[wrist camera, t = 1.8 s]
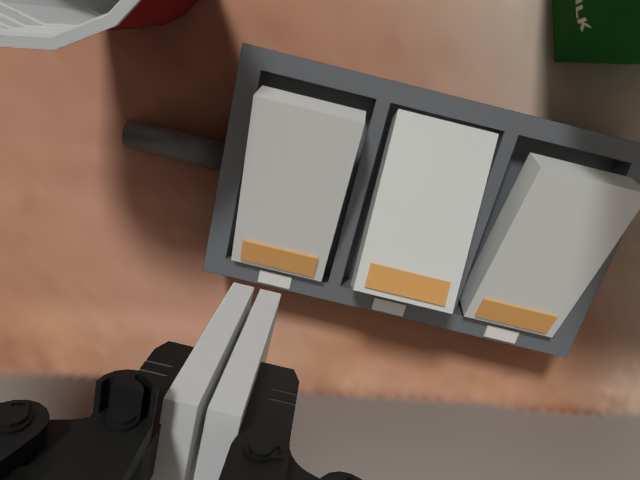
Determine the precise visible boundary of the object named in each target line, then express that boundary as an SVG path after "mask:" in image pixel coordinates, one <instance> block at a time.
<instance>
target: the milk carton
mask: <svg viewBox="0 0 640 480" xmlns="http://www.w3.org/2000/svg"><path fill="white" fill-rule="evenodd" d="M553 25H554V56H555V62H579V63H604V64H640V0H553Z"/></svg>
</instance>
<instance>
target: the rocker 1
mask: <svg viewBox="0 0 640 480" xmlns="http://www.w3.org/2000/svg"><path fill="white" fill-rule="evenodd" d="M365 118H366V111H363V110H359V109H355V108H351V107H347V106H343V105H339V104H335V103H331V102H327V101H323V100H319V99H315V98H311V97H307V96H303V95H299V94H295V93H291V92H287V91H283V90H279V89H275V88H271V87H267V86H263V85H262V86H261V87H260V89H259V90H258V91H257V92H256V93H255V94H254V95H253V102H252V110H251V117H250V125H249V132H248V139H247V147H246V154H245V161H244V169H243V176H242V184H241V191H240V198H239V206H238V213H237V220H236V228H235V235H234V242H233V250H232V257H231V260H233V261H237V262H242V263H246V264H250V265H254V266H258V267H262V268H266V269H270V270H275V271H279V272H283V273H287V274H291V275H295V276H299V277H303V278H308V279H312V280H316V281H320V282H321V281H322V277H323V274H324V270H325V266H326V263H327V259H328V256H329V252H330V248H331V245H332V241H333V237H334V234H335V230H336V227H337V223H338V219H339V216H340V212H341V208H342V205H343V201H344V198H345V194H346V190H347V187H348V183H349V179H350V176H351V172H352V169H353V165H354V161H355V158H356V154H357V150H358V147H359V143H360V140H361V136H362V132H363V129H364V125H365Z"/></svg>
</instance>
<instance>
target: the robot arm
mask: <svg viewBox="0 0 640 480" xmlns="http://www.w3.org/2000/svg"><path fill="white" fill-rule="evenodd" d="M254 288H255V287H251V286H247V285H243V284H239V283H235V282H233V284H232V286H231V287H230V289H229V291H228V292H227V294H226V296H225V297H224V299H223V301H222V302H221V304H220V306H219V307H218V309H217V311H216V312H215V314H214V316H213V317H212V319H211V320H210V322H209V324H208V325H207V327H206V329H205V330H204V332H203V334H202V335H201V337H200V339H199V340H198V342H197V344H196V345H195V347H191V346H187V345H183V344H178V343H174V342H170V341H168V342H166V343H165V344H163V345H161V346H159V347H157V348H155V349H154V351H153V352H152V353H151V355H150V356H149V357H148V359H147V361H145V362H144V364H143V365H142V366H141V368H140V370H138V371H137V370H128V369H127V370H119V371H114V372H111V373H108V374H106V375H104V376H102V377H101V378H100V379H99V380H97V381H96V389H95V399H94V408H93V413H92V415H91V416H90V417H87V418H83V419H73V420H49V413H48V410H47V408H45V407H44V406H43V405H41V404H40V403H38V402H34V401H30V400H12V401H8V402H3V403H0V480H150V479H151V480H189V478H190V476H191V473H192V471H193V469H194V466H195V464H196V461H197V464H196V470H195V475H194V480H362V479H360V478H358V477H356V476H354V475H352V474H349V473H345V472H332V473H328V474H326V475H325V476H323V477H322V478H321V479H319V478H317V477H315V476H313V475H312V474H310V473H308V472H307V471H305V470H304V469H302V468H301V467H300V466H299V465H298V464H297V463H296V462H295V460H294V458H293V457H292V455H291V452H290V449H289V442H290V436H291V429H292V423H293V417H294V411H295V404H296V398H297V392H298V386H299V380H298V378H297V375H296V373H295V371H294V370H293V369H289V368H285V367H280V366H276V365H272V364H268V363H265V362H266V358H267V354H268V349H269V345H270V341H271V337H272V332H273V328H274V324H275V319H276V315H277V311H278V306H279V302H280V298H281V294H280V293H276V292H272V291H268V290H264V289H260V291H259V293H258V296H257V298H256V300H255V302H254V305H253V307H252V309H251V311H250V307H251V302H252V297H253V292H254ZM249 311H250V314H249Z"/></svg>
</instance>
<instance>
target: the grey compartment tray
mask: <svg viewBox="0 0 640 480" xmlns="http://www.w3.org/2000/svg"><path fill="white" fill-rule="evenodd" d="M262 85H263V86H267V87H271V88H275V89H279V90H283V91H287V92H291V93H295V94H299V95H303V96H307V97H311V98H315V99H319V100H323V101H327V102H331V103H335V104H339V105H343V106H347V107H351V108H355V109H359V110H363V111H366V118H365V125H364V129H363V132H362V136H361V140H360V143H359V147H358V150H357V154H356V158H355V161H354V165H353V169H352V172H351V176H350V179H349V183H348V187H347V190H346V194H345V198H344V201H343V205H342V208H341V212H340V216H339V219H338V223H337V227H336V230H335V234H334V237H333V241H332V245H331V248H330V252H329V256H328V259H327V263H326V266H325V270H324V274H323V277H322V281H321V282H320V281H316V280H312V279H308V278H303V277H299V276H295V275H291V274H287V273H283V272H279V271H275V270H270V269H266V268H262V267H258V266H254V265H250V264H246V263H242V262H237V261H233V260H231V257H232V250H233V242H234V235H235V228H236V220H237V213H238V206H239V198H240V191H241V184H242V176H243V169H244V161H245V154H246V147H247V139H248V132H249V125H250V117H251V110H252V102H253V95H254V94H255V93H256V92H257V91H258V90H259V89H260V87H261V86H262ZM398 109H402V110H406V111H410V112H414V113H418V114H422V115H426V116H430V117H434V118H437V119H441V120H445V121H449V122H453V123H457V124H461V125H465V126H469V127H473V128H477V129H481V130H485V131H489V132H493V133H497V134H499V135H498V139H497V143H496V147H495V151H494V155H493V159H492V163H491V166H490V170H489V174H488V178H487V182H486V186H485V190H484V193H483V197H482V201H481V205H480V209H479V213H478V217H477V221H476V224H475V228H474V232H473V236H472V240H471V244H470V248H469V251H468V255H467V259H466V263H465V267H464V271H463V275H462V278H461V282H460V286H459V290H458V294H457V298H456V302H455V306H454V309H453V313H452V314H450V313H446V312H442V311H438V310H434V309H429V308H425V307H421V306H417V305H413V304H409V303H405V302H401V301H396V300H392V299H388V298H384V297H380V296H376V295H372V294H368V293H363V292H359V291H355V290H353V289H352V287H351V281H352V277H353V273H354V269H355V265H356V261H357V256H358V252H359V248H360V244H361V240H362V236H363V232H364V228H365V224H366V220H367V216H368V212H369V208H370V204H371V200H372V196H373V192H374V188H375V184H376V180H377V176H378V172H379V168H380V164H381V160H382V156H383V152H384V148H385V144H386V140H387V136H388V132H389V128H390V124H391V120H392V117H393V115H394V114H395V113H396V111H397V110H398ZM122 139H123V144H124V146H125V147H127V148H131V149H135V150H139V151H143V152H147V153H151V154H156V155H160V156H164V157H168V158H172V159H176V160H180V161H184V162H188V163H192V164H196V165H200V166H204V167H208V168H212V169H216V170H220V175H219V181H218V187H217V193H216V198H215V204H214V210H213V216H212V221H211V227H210V233H209V239H208V245H207V250H206V256H205V262H204V268H203V270H204V271H208V272H212V273H217V274H221V275H225V276H229V277H233V278H237V279H241V280H246V281H250V282H254V283H258V284H262V285H266V286H270V287H274V288H279V289H283V290H287V291H291V292H295V293H299V294H303V295H308V296H312V297H316V298H320V299H324V300H328V301H332V302H337V303H341V304H345V305H349V306H353V307H357V308H361V309H366V310H370V311H374V312H378V313H382V314H386V315H390V316H395V317H399V318H403V319H407V320H411V321H415V322H419V323H424V324H428V325H432V326H436V327H440V328H444V329H448V330H453V331H457V332H461V333H465V334H469V335H473V336H477V337H482V338H486V339H490V340H494V341H498V342H502V343H506V344H511V345H515V346H519V347H523V348H527V349H531V350H535V351H540V352H544V353H548V354H552V355H556V356H560V357H564V358H566V357H567V355H568V353H569V351H570V348H571V346H572V344H573V342H574V340H575V338H576V335H577V333H578V331H579V329H580V327H581V324H582V322H583V320H584V318H585V316H586V314H587V311H588V309H589V307H590V305H591V303H592V301H593V298H594V296H595V294H596V292H597V290H598V288H599V285H600V283H601V281H602V279H603V277H604V274H605V272H606V270H607V268H608V266H609V264H610V261H611V259H612V257H613V255H614V253H615V251H616V248H617V246H618V244H619V242H620V240H621V238H622V236H621V237H620V239H619V240H618V242H617V243H616V245H615V246H614V248H613V249H612V251H611V252H610V254H609V255H608V257H607V258H606V260H605V261H604V262H603V264H602V265H601V267H600V268H599V270H598V271H597V273H596V274H595V276H594V277H593V279H592V280H591V282H590V283H589V284H588V286H587V287H586V289H585V290H584V292H583V293H582V295H581V296H580V298H579V299H578V301H577V302H576V304H575V305H574V307H573V308H572V309H571V311H570V312H569V314H568V315H567V317H566V318H565V320H564V321H563V323H562V324H561V326H560V327H559V329H558V330H557V331H556V333H555V334H554V336H553V337H552V338H551V337H547V336H543V335H539V334H535V333H531V332H526V331H522V330H518V329H514V328H510V327H506V326H502V325H498V324H493V323H489V322H485V321H481V320H477V319H473V318H469V317H464V314H463V310H462V306H461V301H460V295H461V293H462V290H463V287H464V285H465V283H466V281H467V279H468V277H469V275H470V273H471V271H472V269H473V267H474V265H475V263H476V261H477V259H478V257H479V255H480V253H481V250H482V248H483V246H484V244H485V242H486V240H487V238H488V236H489V234H490V232H491V230H492V228H493V226H494V224H495V222H496V220H497V218H498V216H499V214H500V212H501V210H502V208H503V206H504V204H505V202H506V200H507V198H508V196H509V194H510V192H511V190H512V188H513V186H514V184H515V182H516V180H517V178H518V176H519V174H520V172H521V170H522V167H523V165H524V163H525V161H526V159H527V157H528V155H529V153H530V152H531V153H535V154H539V155H543V156H547V157H551V158H555V159H559V160H563V161H567V162H571V163H575V164H579V165H583V166H587V167H591V168H595V169H599V170H603V171H607V172H611V173H615V174H619V175H623V176H627V177H631V178H632V179H633V180H634V181H636V182H637V183H638V184H639V185H640V143H638V142H634V141H630V140H626V139H622V138H618V137H614V136H610V135H606V134H602V133H598V132H594V131H590V130H586V129H583V128H579V127H575V126H571V125H567V124H563V123H559V122H555V121H551V120H547V119H543V118H539V117H535V116H531V115H527V114H523V113H519V112H515V111H511V110H507V109H503V108H499V107H495V106H491V105H487V104H483V103H479V102H475V101H471V100H468V99H464V98H460V97H456V96H452V95H448V94H444V93H440V92H436V91H432V90H428V89H424V88H420V87H416V86H412V85H408V84H404V83H400V82H396V81H392V80H388V79H384V78H380V77H376V76H372V75H368V74H364V73H360V72H356V71H353V70H349V69H345V68H341V67H337V66H333V65H329V64H325V63H321V62H317V61H313V60H309V59H305V58H301V57H297V56H293V55H289V54H285V53H281V52H277V51H273V50H269V49H265V48H261V47H257V46H253V45H249V44H245V43H242V48H241V54H240V60H239V65H238V71H237V77H236V83H235V89H234V94H233V100H232V106H231V112H230V117H229V123H228V129H227V135H226V141H225V142H221V141H217V140H213V139H209V138H205V137H201V136H197V135H193V134H189V133H185V132H181V131H177V130H173V129H169V128H165V127H161V126H157V125H153V124H149V123H145V122H141V121H137V120H132V119H130V120H128V121H127V123H126V124H125V127H124V130H123V136H122Z"/></svg>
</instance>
